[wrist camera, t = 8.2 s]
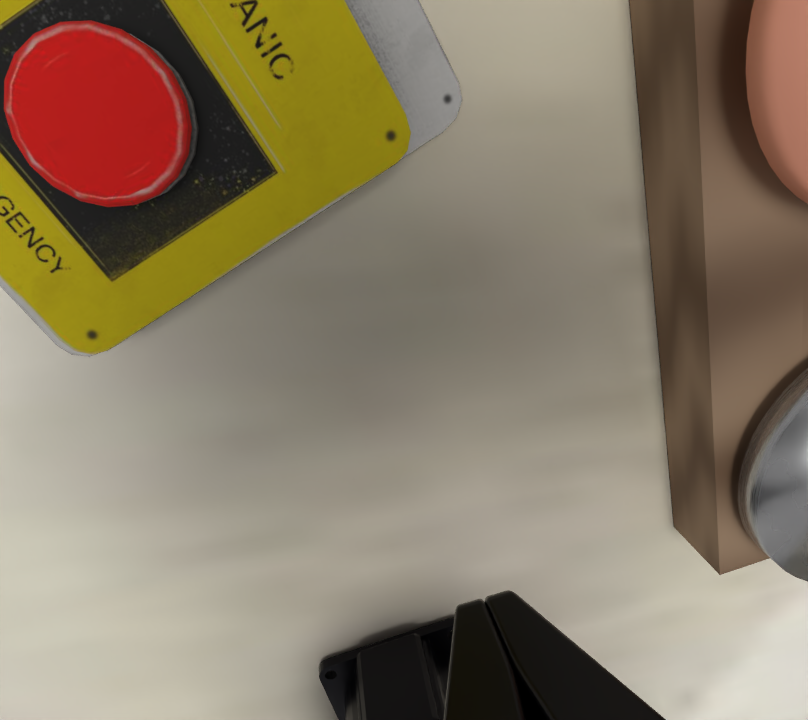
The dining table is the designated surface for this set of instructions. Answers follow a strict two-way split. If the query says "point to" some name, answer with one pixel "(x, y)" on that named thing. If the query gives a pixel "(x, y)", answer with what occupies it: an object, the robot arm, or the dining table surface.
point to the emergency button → (191, 141)
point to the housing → (715, 261)
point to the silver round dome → (779, 481)
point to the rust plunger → (780, 87)
